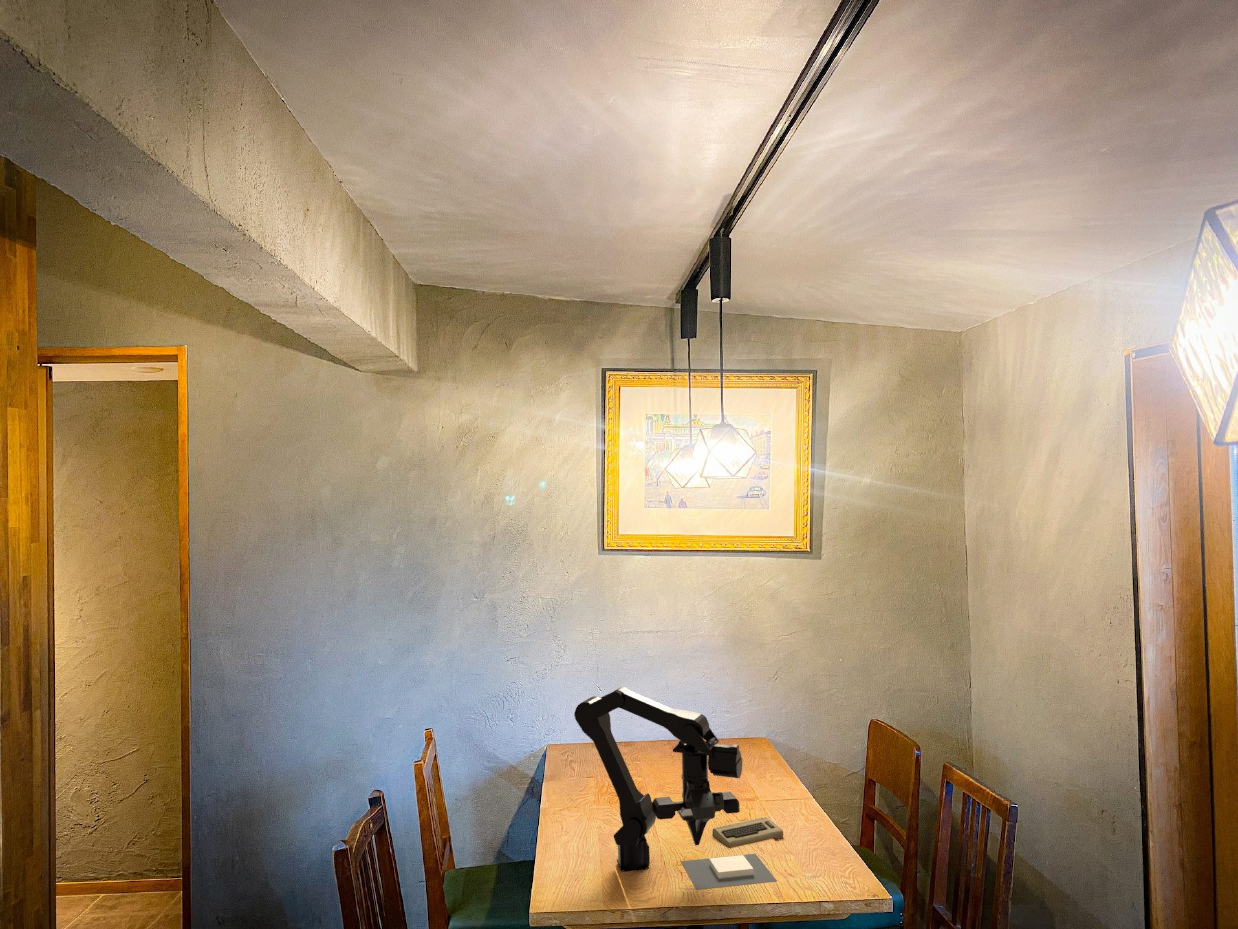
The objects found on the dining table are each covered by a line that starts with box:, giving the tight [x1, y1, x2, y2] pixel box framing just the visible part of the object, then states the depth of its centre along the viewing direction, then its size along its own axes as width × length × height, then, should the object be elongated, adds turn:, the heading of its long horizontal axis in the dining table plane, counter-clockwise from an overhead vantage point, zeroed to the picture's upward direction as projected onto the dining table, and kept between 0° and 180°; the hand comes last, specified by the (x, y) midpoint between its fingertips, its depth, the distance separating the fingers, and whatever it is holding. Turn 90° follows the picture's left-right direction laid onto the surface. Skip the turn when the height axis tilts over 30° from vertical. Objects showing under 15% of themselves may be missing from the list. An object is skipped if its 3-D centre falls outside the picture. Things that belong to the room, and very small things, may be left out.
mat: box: [680, 853, 778, 891], centre depth 174 cm, size 18×14×1 cm
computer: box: [711, 816, 784, 848], centre depth 193 cm, size 16×8×3 cm, turn 114°
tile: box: [709, 854, 754, 879], centre depth 174 cm, size 2×7×8 cm
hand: (696, 844), depth 173 cm, fingers closed
